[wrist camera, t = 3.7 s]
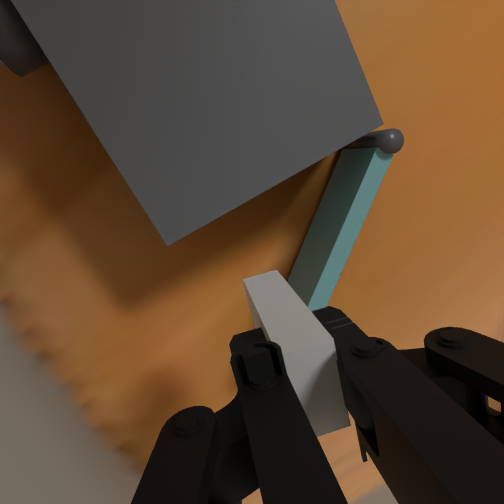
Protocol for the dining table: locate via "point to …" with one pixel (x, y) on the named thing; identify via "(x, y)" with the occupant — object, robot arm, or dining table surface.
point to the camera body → (199, 92)
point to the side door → (342, 215)
